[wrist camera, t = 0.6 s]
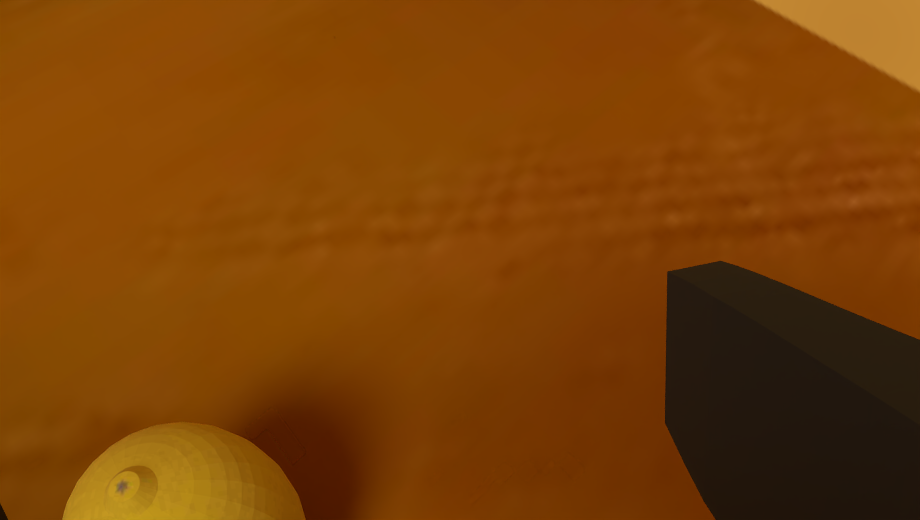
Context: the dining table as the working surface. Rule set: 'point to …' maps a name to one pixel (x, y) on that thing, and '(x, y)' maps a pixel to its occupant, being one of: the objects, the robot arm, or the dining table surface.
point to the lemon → (184, 479)
